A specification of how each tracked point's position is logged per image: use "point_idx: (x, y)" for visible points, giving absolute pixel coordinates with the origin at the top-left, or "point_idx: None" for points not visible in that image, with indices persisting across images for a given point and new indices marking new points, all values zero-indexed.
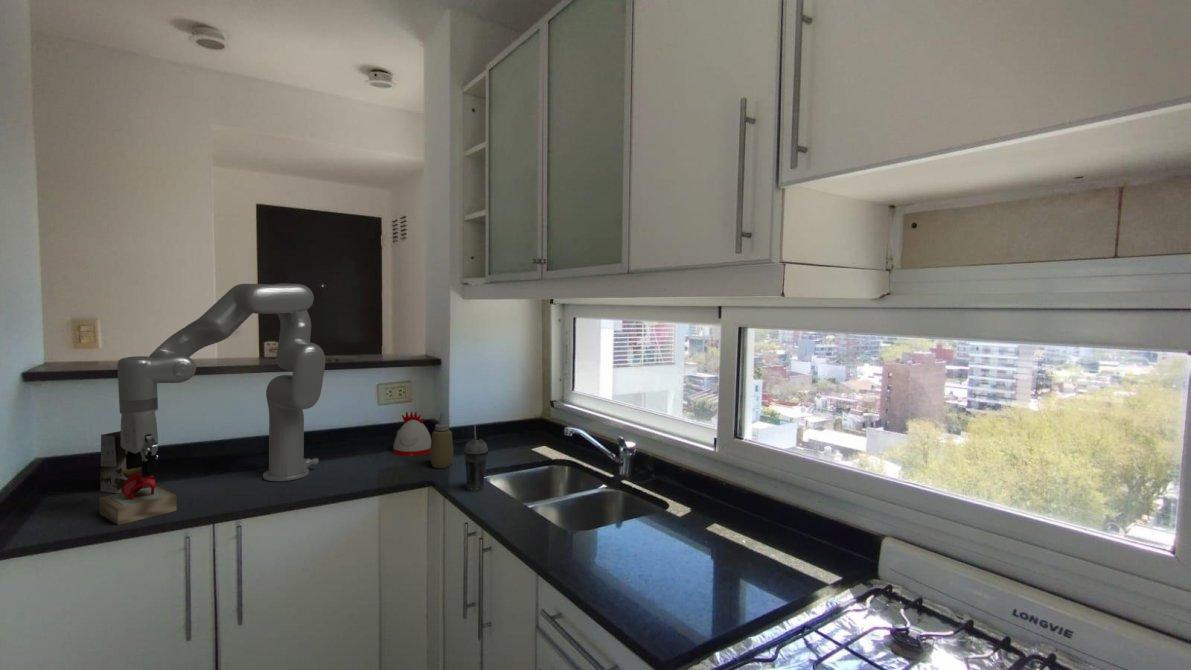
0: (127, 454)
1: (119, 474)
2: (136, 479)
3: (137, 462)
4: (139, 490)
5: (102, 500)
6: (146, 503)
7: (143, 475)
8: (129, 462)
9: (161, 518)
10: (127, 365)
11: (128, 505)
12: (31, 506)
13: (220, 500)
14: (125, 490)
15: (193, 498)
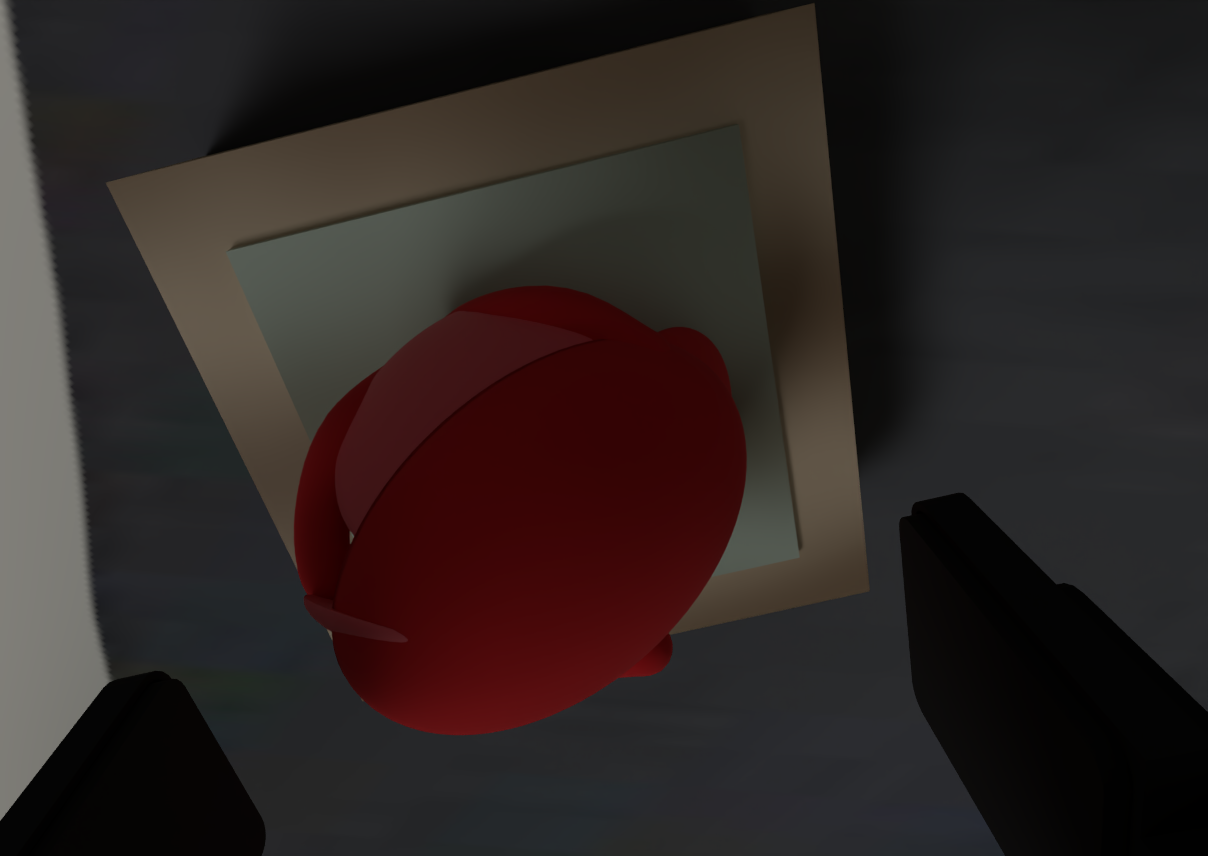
0: (1151, 782)
1: None
2: (354, 545)
3: (959, 719)
4: (782, 446)
5: (682, 36)
6: (251, 462)
7: (107, 700)
8: (966, 628)
9: (231, 487)
10: None
11: (202, 301)
12: None
13: (479, 828)
14: (460, 332)
15: (663, 708)
